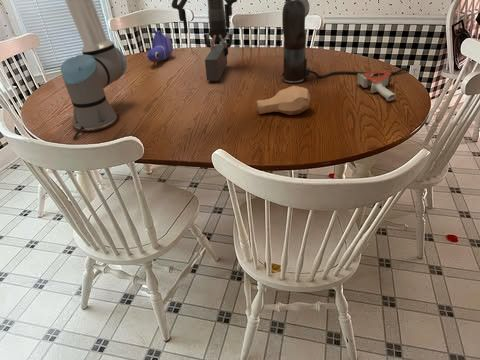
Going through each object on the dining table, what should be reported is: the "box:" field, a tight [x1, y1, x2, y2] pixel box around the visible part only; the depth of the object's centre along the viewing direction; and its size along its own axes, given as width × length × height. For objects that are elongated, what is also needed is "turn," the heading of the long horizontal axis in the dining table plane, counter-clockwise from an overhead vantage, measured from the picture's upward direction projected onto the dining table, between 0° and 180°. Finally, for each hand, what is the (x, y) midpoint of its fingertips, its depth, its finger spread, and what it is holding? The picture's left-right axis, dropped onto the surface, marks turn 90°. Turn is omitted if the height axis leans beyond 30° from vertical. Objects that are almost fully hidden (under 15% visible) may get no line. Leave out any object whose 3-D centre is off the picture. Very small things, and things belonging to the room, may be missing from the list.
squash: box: [255, 85, 312, 116], centre depth 130 cm, size 11×20×9 cm, turn 92°
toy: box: [146, 29, 174, 67], centre depth 185 cm, size 10×17×25 cm
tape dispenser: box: [356, 69, 397, 102], centre depth 142 cm, size 18×5×20 cm
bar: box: [204, 43, 228, 82], centre depth 165 cm, size 23×5×9 cm, turn 172°
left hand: (207, 29), depth 114 cm, fingers open, 13 cm apart
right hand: (219, 55), depth 171 cm, fingers closed on bar, 5 cm apart
